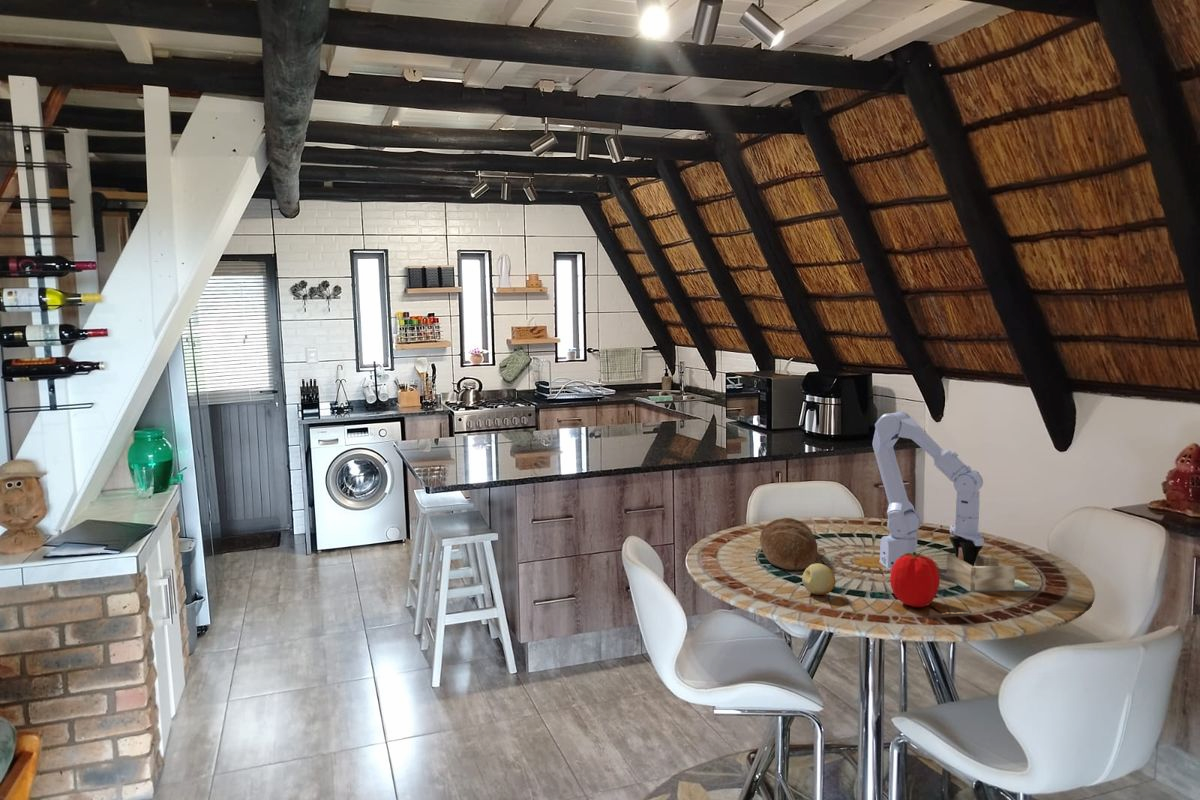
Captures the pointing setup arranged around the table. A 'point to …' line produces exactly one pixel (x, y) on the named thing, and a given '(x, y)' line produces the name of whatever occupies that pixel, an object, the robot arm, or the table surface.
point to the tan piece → (981, 573)
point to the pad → (1020, 584)
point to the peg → (960, 554)
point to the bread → (789, 544)
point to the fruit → (818, 579)
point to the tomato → (914, 579)
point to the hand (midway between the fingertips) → (965, 565)
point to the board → (995, 590)
